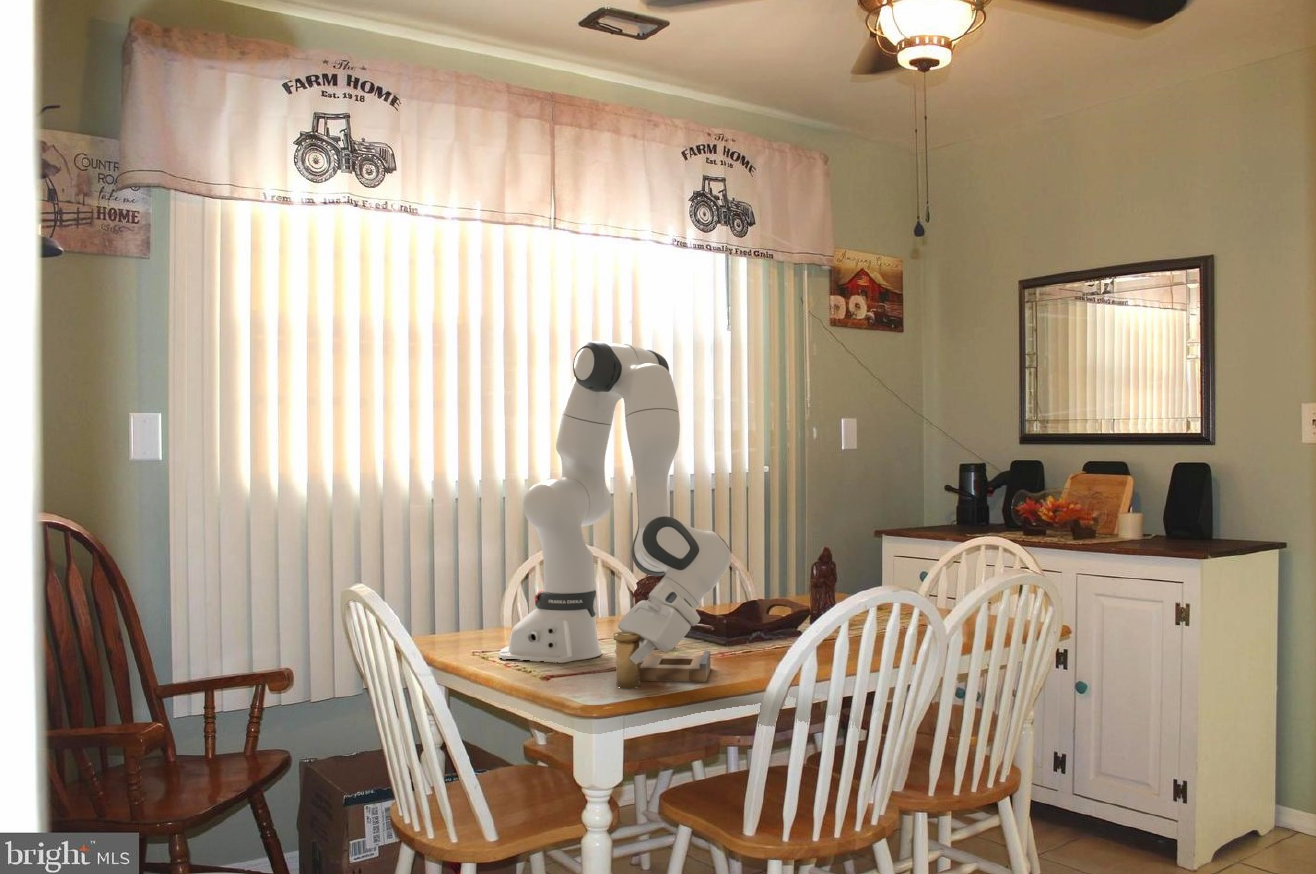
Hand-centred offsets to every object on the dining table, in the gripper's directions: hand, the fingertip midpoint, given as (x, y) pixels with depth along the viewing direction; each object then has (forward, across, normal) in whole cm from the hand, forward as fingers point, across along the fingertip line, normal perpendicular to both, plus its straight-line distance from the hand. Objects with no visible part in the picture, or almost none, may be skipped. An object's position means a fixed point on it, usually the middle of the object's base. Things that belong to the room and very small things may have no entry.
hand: (624, 658), depth 197 cm
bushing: (+3, 0, +4) cm, 5 cm away
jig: (-6, -6, +13) cm, 16 cm away
